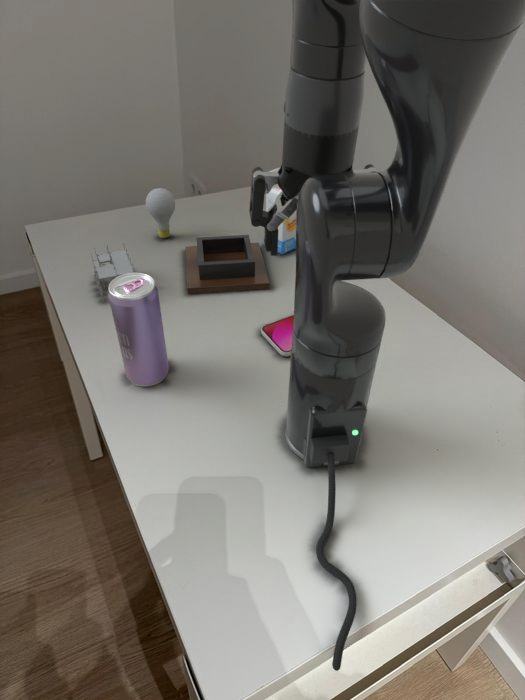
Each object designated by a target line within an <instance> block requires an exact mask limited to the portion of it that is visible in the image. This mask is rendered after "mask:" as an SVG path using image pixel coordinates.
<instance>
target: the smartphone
mask: <svg viewBox="0 0 525 700" xmlns="http://www.w3.org/2000/svg"><path fill="white" fill-rule="evenodd" d="M293 320H294V314H291V315H288V316H286V317H283V318H281V319H278V320H275V321H272V322H270V323H267V324H265V325H263V326H261V329H260V331H261V335H262V336H263V338H265V340H266V341H267V342H268V343H269V344H270V345H271V346H272V347H273V348H274V349H275V350H276V352H278V353H279V354H280V356H283V357H291V348H292V334H293Z"/></svg>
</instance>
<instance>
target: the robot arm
mask: <svg viewBox="0 0 525 700" xmlns="http://www.w3.org/2000/svg"><path fill="white" fill-rule="evenodd" d="M291 7H292V11H291V12H292V24H291V27H292V28H291V42H290V43H291V44H290V45H291V46H290V61H289V71H288V77H287V83H286V90H285V101H284V103H283V113H284V119H283V121H284V122H283V136H282V137H283V138H282V139H283V140H282V155H281V164H280V167H279V168H280V169H279V171H278V172H269V171H264V170H263V168H262V167H260V166H256V167H254V168H253V169H252V171H251V183H250V198H249V211H248V213H249V217H250V224H251V226H252V227H255V228H258V227H263V228H264V237H263V240H264V241H263V242H264V247H265V250H266V252H267V253H268V252H269V253H270V256H271V257H277V256H278V252H277V249H278V227H279V225H280V224H281V223H282V222H283V221H284V220H285V219H288V218H290V216H291V215H292V214H293V213H294V212H295V211H296V210H297V211H296V248H295V281H294V303H293V309H294V310H293V315H294V320H293V334H292V348H291V356H290V363H289V364H290V365H289V377H288V379H289V380H288V393H287V394H288V395H287V410H286V423H285V431H284V436H285V440H286V441H285V442H286V444H287V446H288V447H289V449H290V450H291V451H292V453H293V454H294V455H296V457H298V458H300V459H301V460H302V461H303V462H304V466H305V468H315V467H316V468H317V467H325V466H327V476H328V493H327V497H328V498H327V513H326V522H325V527H324V529H323V532H322V533H321V535H320V537H319V539H318V541H317V543H316V548H315V549H316V550H315V553H316V558H317V561H318V563H319V564H320V565H321V566H322V568H323V569H325V571H327V572H328V573H329V574H331V575H332V576H333V577H335V578H336V579H337V580H339V581H340V582H341V583H342V584H344V586H345V589H346V591H347V596H348V608H347V612H346V614H345V618H344V619H343V623H342V625H341V628H340V630H339V632H338V636H337V638H336V641H335V644H334V645H335V646H334V650H333V657H332V662H331V663H332V664H331V666H332V669H333V671H337V672H338V671H340V669H341V666H342V661H343V660H342V659H343V653H344V650H345V649H344V648H345V645H346V642H347V639H348V636H349V633H350V631H351V628H352V625H353V623H354V620H355V618H356V613H357V607H358V605H357V604H358V600H357V599H358V597H357V592H356V588H355V585H354V583H353V581H352V580H351V578H350V577H349V576H348V575H347V574H345V572H344V571H342V570H340V569H339V568H337V566H335V565H334V564H332V563H331V562H330V561H329V560H328V559H327V557H326V555H325V552H324V549H325V546H326V544H327V541H328V540H329V538H330V536H331V534H332V531H333V527H334V523H335V522H334V520H335V514H336V512H335V511H336V491H337V490H336V486H337V485H336V465H346V464H352V463H353V464H355V463H356V462H357V458H358V454H359V449H360V445H361V442H362V436H363V432H364V426H365V421H366V419H367V418H366V417H367V413H368V412H367V411H368V406H369V405H368V404H369V400H370V396H371V391H372V387H373V381H374V376H375V372H376V368H377V363H378V360H379V359H378V358H379V355H380V349H381V345H382V341H383V336H384V331H385V326H386V320H387V319H386V312H385V308H384V306H383V304H382V302H381V301H380V300H379V299H378V297H376V296H375V295H374V294H373V293H372V292H371V291H369V290H368V289H365V288H363V287H362V286H358V285H356V284H353V283H349V282H347V281H355V280H359V281H360V280H374V279H375V280H377V279H388V278H394V277H397V276H399V275H402V274H404V273H405V272H407V271H408V270H409V269H411V267H412V266H413V265H414V264H415V262H416V261H417V259H418V258H419V256H420V254H421V252H422V250H423V248H424V246H425V243H426V241H427V238H428V236H429V233H430V231H431V228H432V227H433V223H434V220H435V217H436V214H437V212H438V210H439V208H440V207H439V206H440V204H441V201H442V198H443V196H444V193H445V191H446V188H447V185H448V183H449V180H450V178H451V175H452V173H453V169H454V167H455V165H456V161H457V160H458V157H459V155H460V152H461V150H462V147H463V146H464V143H465V141H466V139H467V136H468V134H469V132H470V131H471V127H472V125H473V123H474V121H475V120H476V117H477V116H478V113H479V110H480V108H481V106H482V105H483V103H484V101H485V99H486V96H487V94H488V91H489V89H490V87H491V85H492V83H493V82H494V79H495V77H496V75H497V73H498V71H499V70H500V67H501V65H502V64H503V62H504V60H505V58H506V56H507V55H508V52H509V50H510V49H511V46H512V45H513V43H514V41H515V39H516V37H517V36H518V34H519V32H520V29H521V28H522V26H523V24H524V22H525V0H291ZM367 62H368V63H369V67H370V70H371V73H372V75H373V78H374V80H375V82H376V85H377V87H378V89H379V92H380V94H381V96H382V99H383V101H384V103H385V106H386V108H387V110H388V112H389V116H390V117H391V121H392V124H393V128H394V131H395V134H396V140H397V143H396V144H397V145H396V150H395V153H394V157H393V160H392V161H391V164H390V165H389V166H388V168H386V169H385V170H383V171H377V169H376V168H375V166H374V164H372V163H369V164H366V165H365V166H364V168H362V169H353V165H354V161H355V154H356V147H357V141H358V135H359V129H360V123H361V117H362V109H363V105H364V96H365V77H366V76H365V75H366V68H367V67H366V66H367ZM276 184H278V186H279V187H280V189H281V190H282V191H281V192H280V194H279V195H278V196H277V197H276V199H275V202H274V204H273V205H272V206H271V207H270V208H269V209H268V210H267V212H266V210H264V205H265V196H266V194H268V193H269V192H270V191H271V188H272V187H273V186H274V185H276Z"/></svg>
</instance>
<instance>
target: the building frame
mask: <svg viewBox="0 0 525 700" xmlns="http://www.w3.org/2000/svg"><path fill="white" fill-rule="evenodd" d="M122 244H123V250H117V251H113V252H111V251H109V246H108V244H106V245H105V247H106V250H107V253H102V254H98V253H97V252H96V248H95V246H94V247H93V248H94V249H93V250H94V253H95V258H96V259H93V256H92V255H93V254H92V253H90V257H91V261H92V265H93V269H94V270H93V273H94V278H95V283H96V285H97V289H98V292H99V296H101V298H102V301H103V302H105V300H104V291H103V288H102V285H103V287H104V289H106V286H105V285H106V284H105V280H109V279H115V278H116V277H118V276H120V275H123V274H127V273H135V270H134V269H135V268H134V264H133V263H132V261H131V259H130V256H129V254H128V251H127V249H126V248H125V243H124V241H123V242H122ZM105 263H109V264H105ZM101 282H102V285H101Z"/></svg>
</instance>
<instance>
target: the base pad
mask: <svg viewBox="0 0 525 700" xmlns="http://www.w3.org/2000/svg"><path fill="white" fill-rule="evenodd" d="M184 248H185V269H186V271H185V274H186V290H187V295H193V294H207V293H222V292H223V293H224V292H239V291H254V290H255V291H256V290H269V289H270V279H269V275H268V273H267V269H266V264H265V262H264V257H263V253H262V249H261V246H260V242H251V238H250V235H249V234H237V235H217V236H215V235H214V236H200V237H199V236H198V237H196V245H191V246H190V245H189V246H185V247H184Z"/></svg>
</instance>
